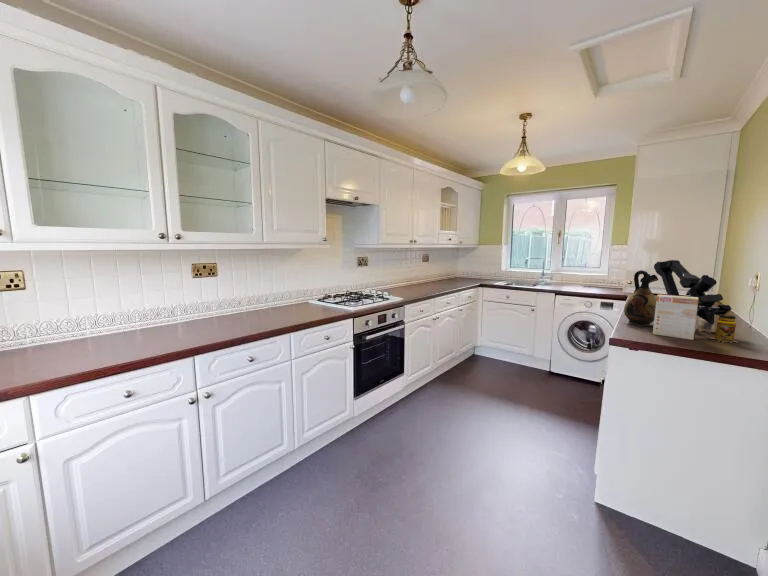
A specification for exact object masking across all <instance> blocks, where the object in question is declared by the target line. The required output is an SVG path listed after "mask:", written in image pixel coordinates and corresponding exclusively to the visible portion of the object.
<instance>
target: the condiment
mask: <svg viewBox="0 0 768 576" xmlns="http://www.w3.org/2000/svg"><path fill="white" fill-rule="evenodd" d="M736 325H737V322H736V316H734V315H730V314H725V315H718V319H717V321H716V329H715V336H714V337H715V340H718V341H717V342H720V341H722V342H721V343H724V342H730V343H729V344H732V343H731V342H733V341H734V342H736V343H737V341H735V332H736V327H737V326H736ZM715 340H714V341H715Z"/></svg>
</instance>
